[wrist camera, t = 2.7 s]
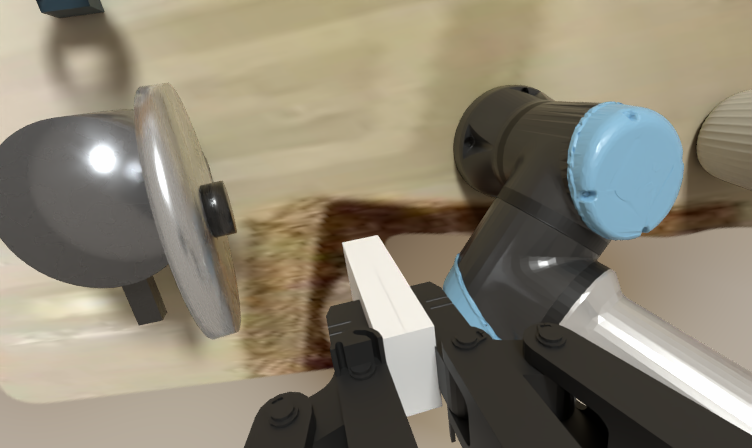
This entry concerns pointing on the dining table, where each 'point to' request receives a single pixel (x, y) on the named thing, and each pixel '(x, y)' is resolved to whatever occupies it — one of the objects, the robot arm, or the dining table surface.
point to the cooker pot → (83, 206)
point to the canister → (728, 140)
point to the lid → (187, 210)
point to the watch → (69, 7)
